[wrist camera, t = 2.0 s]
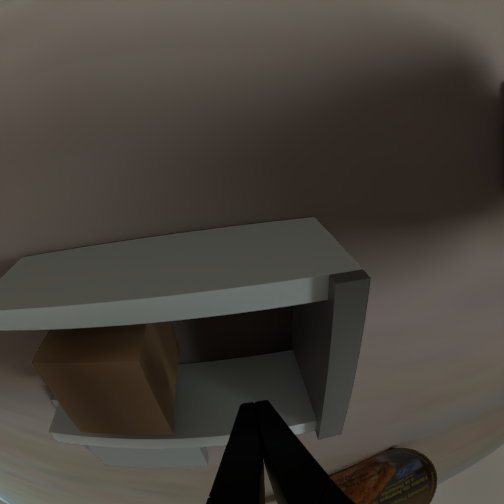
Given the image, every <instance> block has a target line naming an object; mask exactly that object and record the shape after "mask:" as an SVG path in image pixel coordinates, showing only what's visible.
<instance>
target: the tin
mask: <svg viewBox="0 0 504 504" xmlns="http://www.w3.org/2000/svg"><path fill="white" fill-rule="evenodd" d="M330 479H332V480H333V481H334V482H335V483H336V484H337V485H338V487H339V488H340V489H341V490H342V491H343V492H344V493H345V494H346V495H347V496H348V497H349V498H350V499H351V500H352V501H353V502H354V503H356V504H430V502H431V501H432V498H433V497H434V494H435V492H436V488H437V473H436V470H435V467H434V465H433V464H432V462H431V461H430V460H429V459H428V458H427V457H426V456H425V455H424V454H422V453H420V452H418V451H416V450H413V449H407V448H396V449H390V450H386V451H384V452H381V453H379V454H377V455H375V456H373V457H371V458H369V459H367V460H365V461H363V462H361V463H359V464H356V465H354V466H352V467H350V468H347V469H345V470H343V471H340V472H338V473H336V474H333V475H331V476H330Z"/></svg>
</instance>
